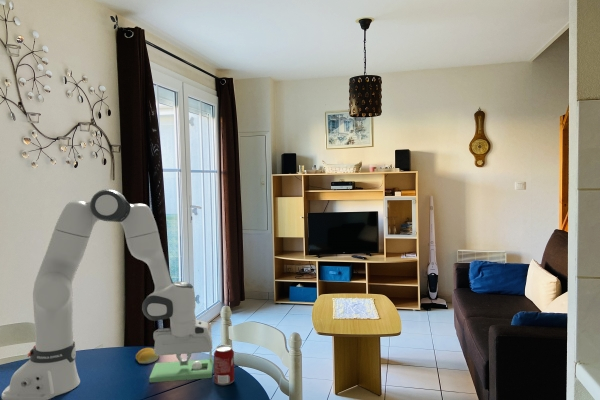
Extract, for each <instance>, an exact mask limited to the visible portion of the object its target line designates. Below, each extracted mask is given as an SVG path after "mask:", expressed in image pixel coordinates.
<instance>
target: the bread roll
mask: <svg viewBox="0 0 600 400" xmlns="http://www.w3.org/2000/svg"><path fill="white" fill-rule="evenodd" d="M159 358H160V355H159V356H157V355H156V354H155V353H154V348H152V347H145V348H142V349H140V350H138V352H137V353H136V354H135V359H136V361H137V363H139V364H142V365H143V364H152V363H154V362H156V361H158V359H159Z"/></svg>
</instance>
